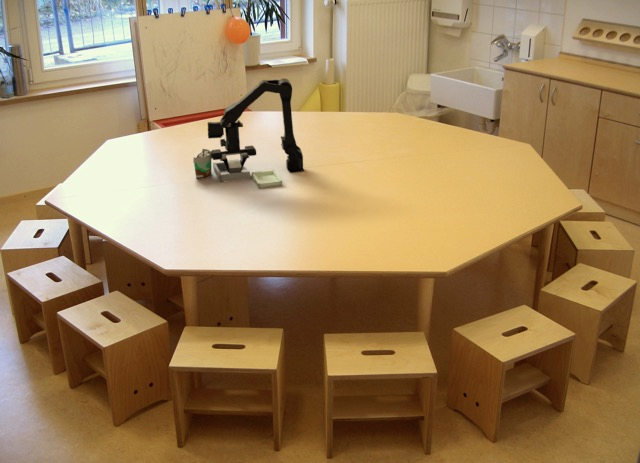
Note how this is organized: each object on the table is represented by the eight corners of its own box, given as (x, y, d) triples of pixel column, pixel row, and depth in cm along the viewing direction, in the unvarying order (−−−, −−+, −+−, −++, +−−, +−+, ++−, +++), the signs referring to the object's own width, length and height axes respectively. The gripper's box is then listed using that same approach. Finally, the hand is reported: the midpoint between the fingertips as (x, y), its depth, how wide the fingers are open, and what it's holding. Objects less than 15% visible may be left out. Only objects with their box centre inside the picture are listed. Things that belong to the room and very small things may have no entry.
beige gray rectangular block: (239, 169, 334) (238, 158, 332) (242, 176, 326) (241, 165, 324) (228, 170, 333) (227, 159, 331) (230, 177, 325) (229, 166, 323)
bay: (242, 166, 338) (242, 159, 337) (250, 178, 324) (249, 172, 323) (213, 169, 335) (213, 163, 333) (219, 182, 321) (219, 175, 320)
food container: (208, 181, 322) (206, 158, 318) (195, 180, 324) (192, 158, 319) (218, 170, 333) (216, 149, 329) (204, 170, 334) (202, 148, 330)
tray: (274, 174, 329) (274, 169, 328) (282, 185, 316) (282, 181, 316) (251, 176, 326) (251, 172, 325) (258, 188, 314) (258, 184, 313)
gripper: (250, 129, 332) (252, 162, 339) (207, 133, 327) (210, 167, 334) (255, 136, 322) (257, 171, 329) (211, 141, 318) (214, 176, 324)
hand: (234, 171), depth 329 cm, fingers closed on beige gray rectangular block, 5 cm apart
